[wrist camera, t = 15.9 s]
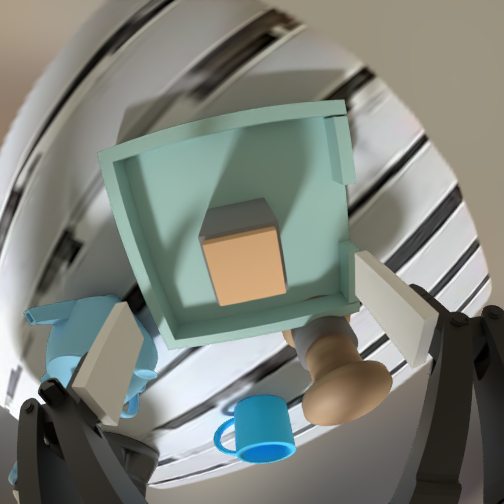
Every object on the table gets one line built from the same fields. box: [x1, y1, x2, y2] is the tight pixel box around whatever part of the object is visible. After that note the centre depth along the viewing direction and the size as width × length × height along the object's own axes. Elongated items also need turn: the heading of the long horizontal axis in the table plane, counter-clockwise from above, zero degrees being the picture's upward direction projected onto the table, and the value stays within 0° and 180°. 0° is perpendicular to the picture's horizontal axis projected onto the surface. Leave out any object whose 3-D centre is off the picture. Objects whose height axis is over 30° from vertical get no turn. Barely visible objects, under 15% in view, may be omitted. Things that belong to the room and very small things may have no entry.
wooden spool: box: [282, 295, 393, 426], centre depth 24 cm, size 8×8×12 cm
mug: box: [214, 395, 296, 464], centre depth 33 cm, size 12×8×8 cm
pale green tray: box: [97, 100, 360, 350], centre depth 23 cm, size 20×20×4 cm
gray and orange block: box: [198, 197, 289, 306], centre depth 20 cm, size 5×5×8 cm
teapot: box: [23, 294, 158, 418], centre depth 23 cm, size 15×14×11 cm
